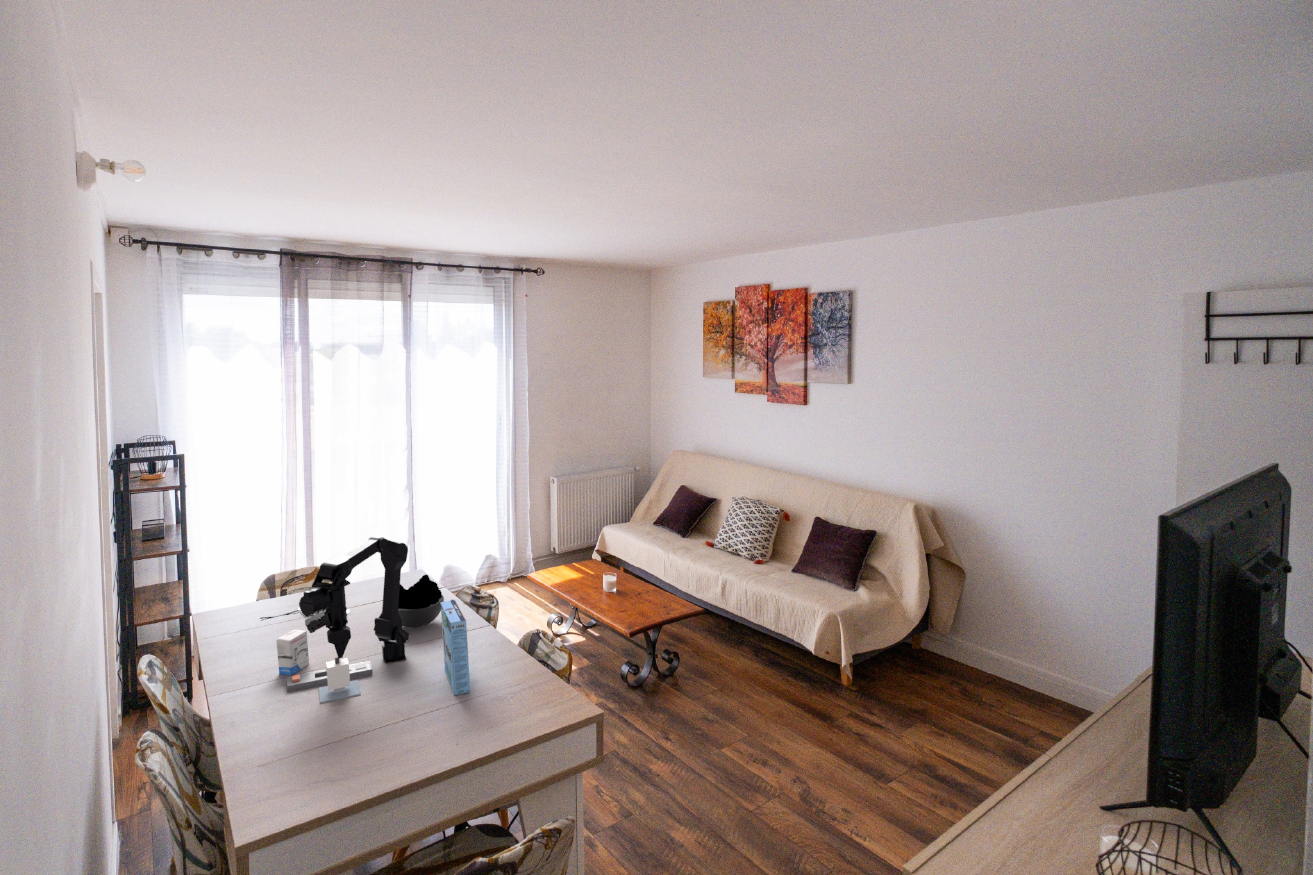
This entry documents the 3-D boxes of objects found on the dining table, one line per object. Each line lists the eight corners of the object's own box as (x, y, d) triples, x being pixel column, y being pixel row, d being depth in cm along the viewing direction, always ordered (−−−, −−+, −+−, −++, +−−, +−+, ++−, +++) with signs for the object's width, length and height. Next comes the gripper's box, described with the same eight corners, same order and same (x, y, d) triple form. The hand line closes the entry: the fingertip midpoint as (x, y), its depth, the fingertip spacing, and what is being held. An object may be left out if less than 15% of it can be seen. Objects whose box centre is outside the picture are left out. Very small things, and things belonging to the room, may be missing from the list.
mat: (357, 681, 220) (357, 679, 220) (360, 695, 211) (360, 693, 211) (318, 689, 215) (318, 687, 215) (320, 704, 206) (319, 702, 206)
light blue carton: (470, 692, 212) (467, 620, 209) (453, 696, 210) (449, 623, 207) (459, 666, 230) (456, 599, 227) (443, 669, 228) (440, 601, 225)
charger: (349, 685, 216) (347, 653, 215) (350, 691, 212) (348, 659, 211) (328, 689, 213) (325, 657, 212) (328, 696, 210) (326, 663, 208)
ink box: (291, 675, 224) (289, 640, 222) (278, 674, 225) (275, 639, 223) (310, 663, 232) (307, 629, 231) (297, 662, 233) (294, 628, 232)
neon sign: (256, 606, 274) (336, 589, 292) (257, 617, 274) (336, 599, 293) (268, 622, 258) (351, 603, 276) (269, 633, 258) (352, 613, 277)
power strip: (370, 666, 230) (369, 658, 230) (372, 675, 224) (371, 666, 224) (287, 682, 219) (286, 674, 219) (287, 692, 213) (286, 683, 213)
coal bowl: (456, 622, 266) (454, 574, 264) (412, 641, 249) (409, 590, 247) (421, 612, 277) (418, 565, 274) (377, 629, 260) (374, 580, 258)
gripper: (304, 597, 216) (308, 646, 218) (306, 618, 200) (311, 670, 202) (343, 591, 221) (347, 638, 224) (349, 611, 205) (353, 661, 207)
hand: (339, 651), depth 214 cm, fingers open, 9 cm apart
